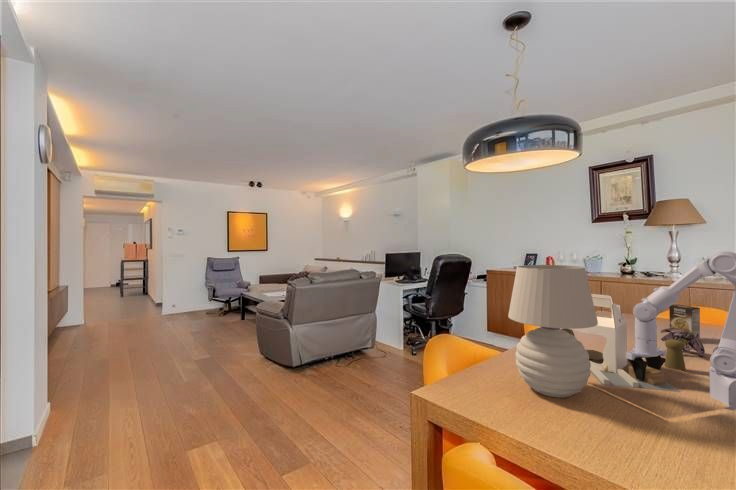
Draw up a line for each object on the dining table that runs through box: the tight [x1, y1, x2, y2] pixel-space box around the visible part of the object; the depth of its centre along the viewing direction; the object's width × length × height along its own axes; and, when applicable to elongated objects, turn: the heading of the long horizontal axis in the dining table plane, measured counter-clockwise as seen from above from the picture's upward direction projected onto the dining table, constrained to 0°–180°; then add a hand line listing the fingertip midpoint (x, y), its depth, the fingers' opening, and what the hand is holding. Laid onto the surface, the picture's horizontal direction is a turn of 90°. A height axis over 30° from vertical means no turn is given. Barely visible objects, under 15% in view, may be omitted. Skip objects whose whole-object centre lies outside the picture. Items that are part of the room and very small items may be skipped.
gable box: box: [560, 293, 628, 373], centre depth 130 cm, size 22×13×28 cm, turn 38°
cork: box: [664, 339, 687, 373], centre depth 122 cm, size 6×6×11 cm
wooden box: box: [628, 365, 666, 386], centre depth 111 cm, size 8×5×4 cm, turn 13°
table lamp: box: [507, 264, 598, 399], centre depth 107 cm, size 25×25×40 cm
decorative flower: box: [660, 327, 706, 358], centre depth 138 cm, size 14×12×15 cm
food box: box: [668, 304, 701, 341], centre depth 158 cm, size 9×6×16 cm
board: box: [590, 365, 682, 393], centre depth 112 cm, size 14×21×3 cm, turn 73°
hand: (646, 378), depth 111 cm, fingers closed on wooden box, 5 cm apart
